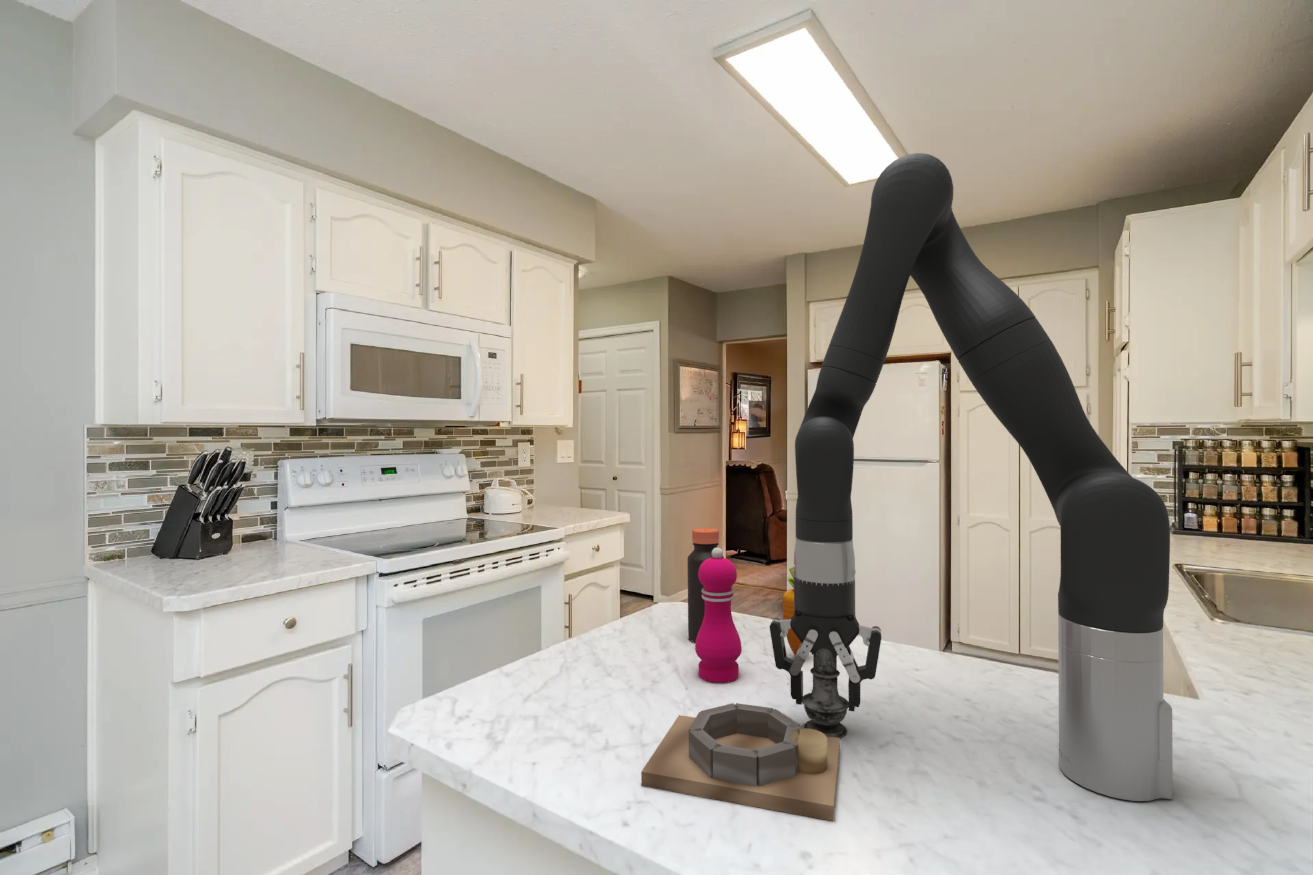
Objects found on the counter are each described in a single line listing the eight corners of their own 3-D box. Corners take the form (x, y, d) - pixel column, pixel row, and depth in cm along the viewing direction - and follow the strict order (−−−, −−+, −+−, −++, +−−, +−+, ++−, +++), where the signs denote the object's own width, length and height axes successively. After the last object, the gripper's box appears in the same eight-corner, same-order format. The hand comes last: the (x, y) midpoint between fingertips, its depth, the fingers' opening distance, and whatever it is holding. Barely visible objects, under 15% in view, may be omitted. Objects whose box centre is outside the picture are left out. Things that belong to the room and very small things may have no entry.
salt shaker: (852, 742, 76) (851, 644, 76) (802, 738, 77) (801, 641, 77) (847, 720, 82) (846, 629, 81) (801, 716, 83) (800, 627, 83)
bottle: (686, 644, 111) (684, 532, 111) (690, 632, 118) (689, 527, 118) (724, 645, 110) (722, 533, 110) (726, 633, 117) (725, 527, 117)
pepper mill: (749, 672, 98) (748, 545, 98) (729, 688, 92) (728, 553, 92) (708, 663, 102) (707, 541, 102) (687, 678, 96) (685, 549, 96)
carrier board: (840, 750, 74) (839, 713, 74) (833, 821, 61) (833, 775, 61) (679, 726, 80) (678, 691, 80) (641, 785, 67) (641, 743, 67)
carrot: (816, 663, 101) (815, 572, 101) (786, 663, 101) (785, 572, 101) (809, 652, 106) (808, 565, 106) (780, 652, 106) (779, 565, 106)
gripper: (883, 571, 80) (884, 700, 80) (771, 564, 85) (772, 686, 85) (885, 584, 73) (885, 727, 73) (762, 576, 78) (763, 710, 78)
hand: (825, 704), depth 79 cm, fingers closed on salt shaker, 6 cm apart
